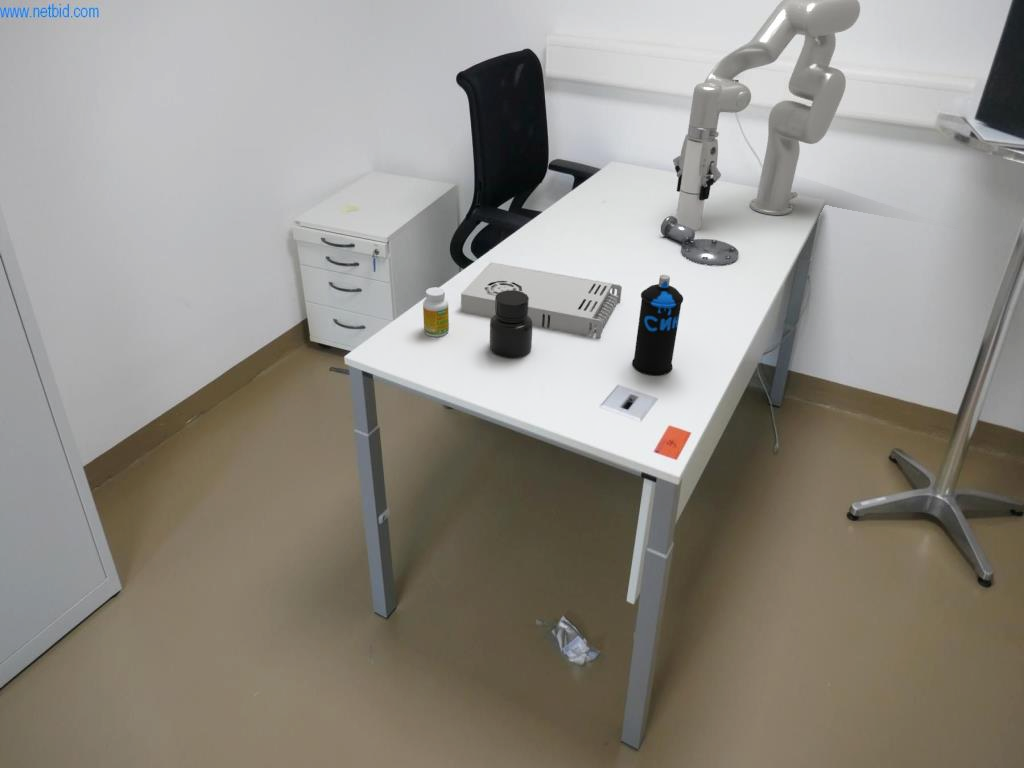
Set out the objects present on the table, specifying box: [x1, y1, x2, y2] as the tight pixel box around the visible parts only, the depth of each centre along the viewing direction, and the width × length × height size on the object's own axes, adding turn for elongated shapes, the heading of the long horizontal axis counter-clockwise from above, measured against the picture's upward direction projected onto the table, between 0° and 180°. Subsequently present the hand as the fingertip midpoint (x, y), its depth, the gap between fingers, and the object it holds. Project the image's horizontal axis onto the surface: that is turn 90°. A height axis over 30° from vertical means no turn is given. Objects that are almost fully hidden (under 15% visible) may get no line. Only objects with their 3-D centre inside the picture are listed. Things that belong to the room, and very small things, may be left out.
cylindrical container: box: [675, 138, 708, 232], centre depth 220 cm, size 7×7×25 cm
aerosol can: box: [631, 274, 684, 376], centre depth 156 cm, size 8×8×20 cm
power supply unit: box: [460, 261, 623, 339], centre depth 182 cm, size 19×33×5 cm, turn 70°
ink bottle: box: [489, 290, 533, 359], centre depth 163 cm, size 10×9×12 cm
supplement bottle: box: [422, 286, 450, 338], centre depth 169 cm, size 5×5×10 cm
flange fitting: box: [660, 215, 739, 266], centre depth 212 cm, size 23×15×6 cm, turn 37°
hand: (692, 194), depth 222 cm, fingers open, 7 cm apart
